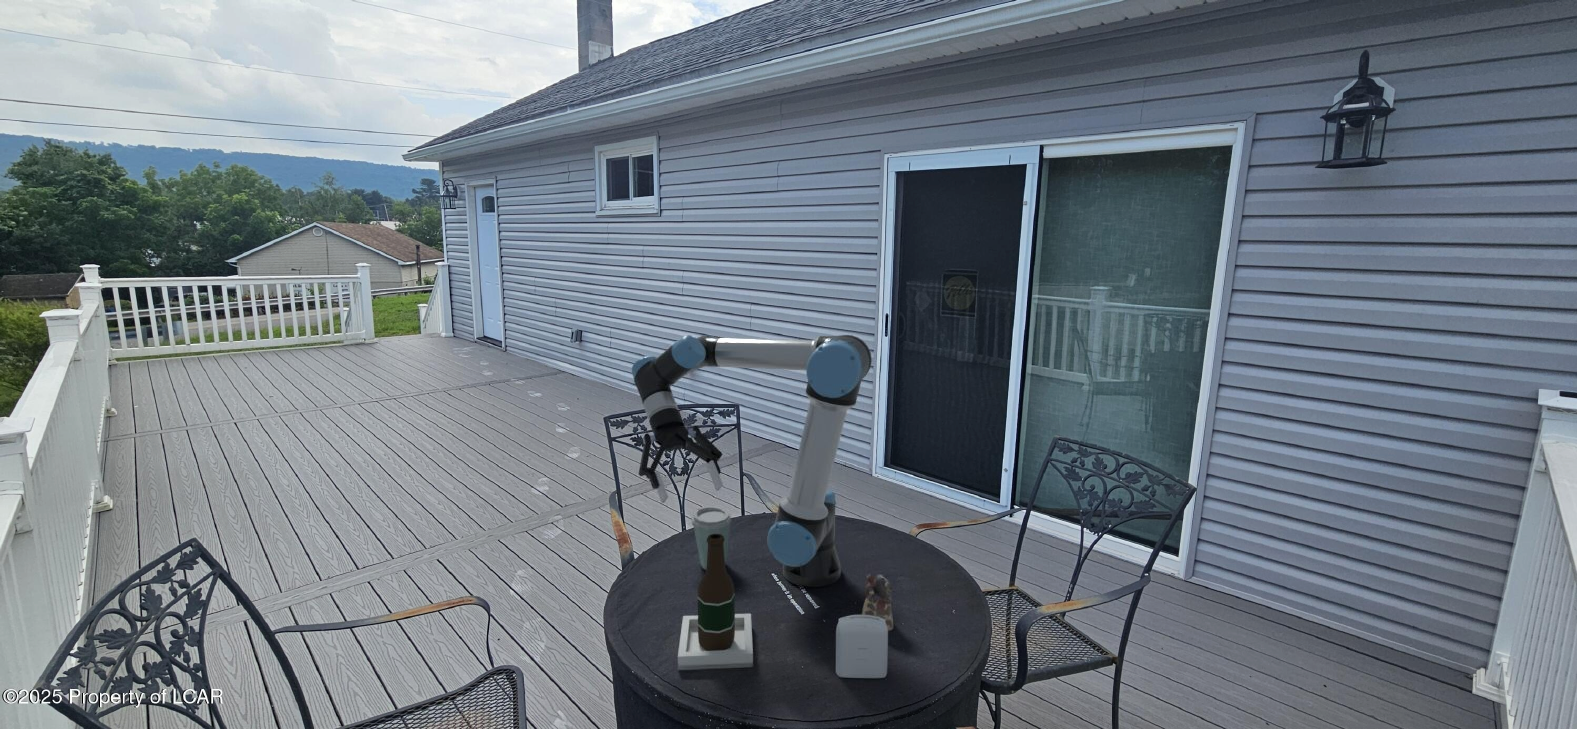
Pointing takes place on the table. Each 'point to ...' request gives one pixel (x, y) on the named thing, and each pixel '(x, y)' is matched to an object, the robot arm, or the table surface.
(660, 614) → the table surface
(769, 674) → the table surface
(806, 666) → the table surface
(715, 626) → the beer bottle
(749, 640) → the dock tray
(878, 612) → the figurine
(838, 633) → the photo printer
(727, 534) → the disposable coffee cup
